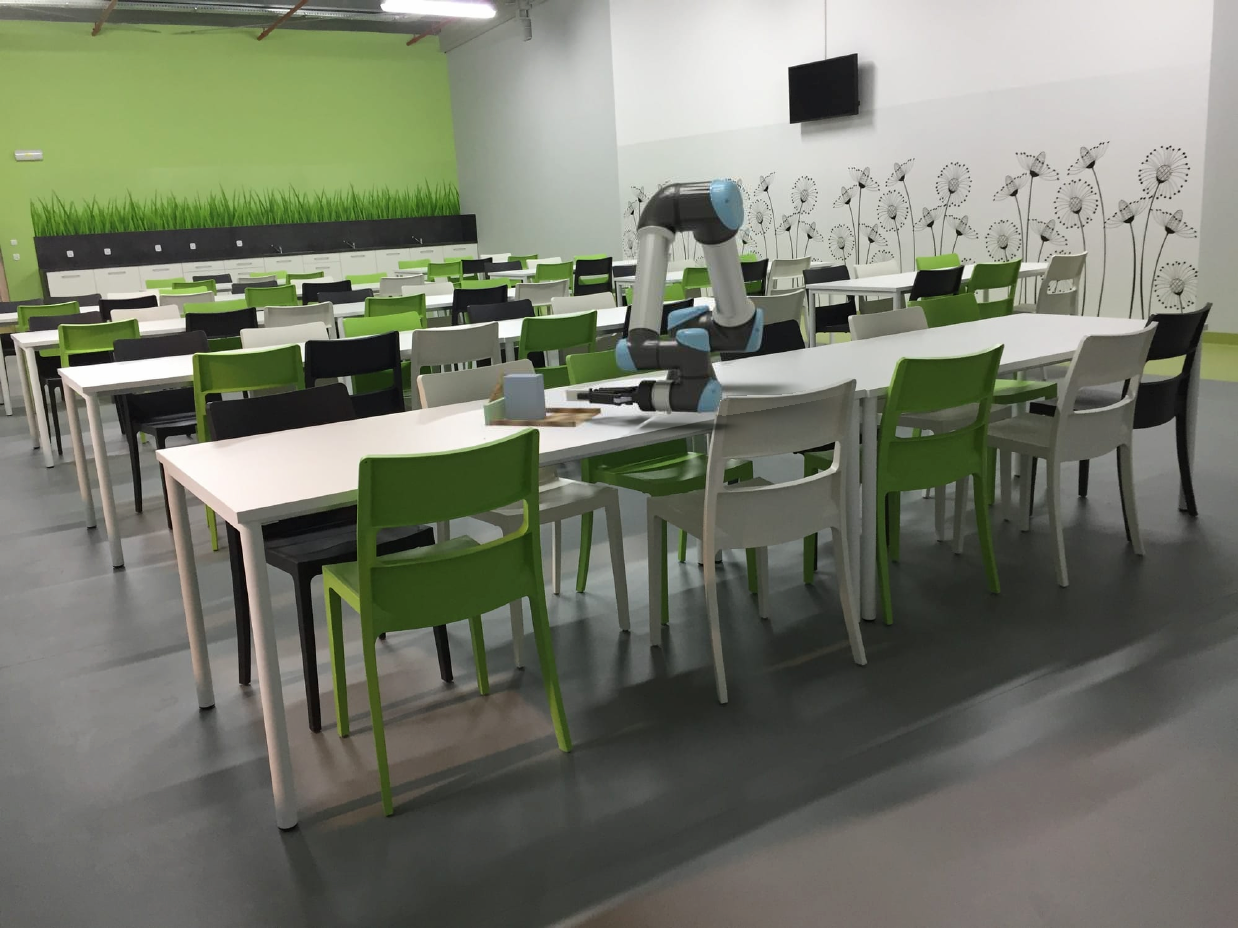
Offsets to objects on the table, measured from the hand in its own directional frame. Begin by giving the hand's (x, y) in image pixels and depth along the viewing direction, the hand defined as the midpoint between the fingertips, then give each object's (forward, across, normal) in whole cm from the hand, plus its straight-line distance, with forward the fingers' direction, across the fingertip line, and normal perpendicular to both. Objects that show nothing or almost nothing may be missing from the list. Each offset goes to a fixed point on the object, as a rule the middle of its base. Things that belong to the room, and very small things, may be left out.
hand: (567, 395), depth 246 cm
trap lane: (+7, 0, -7) cm, 10 cm away
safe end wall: (+19, 0, -7) cm, 20 cm away
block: (+12, 0, -6) cm, 13 cm away
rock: (+26, +13, -7) cm, 30 cm away
